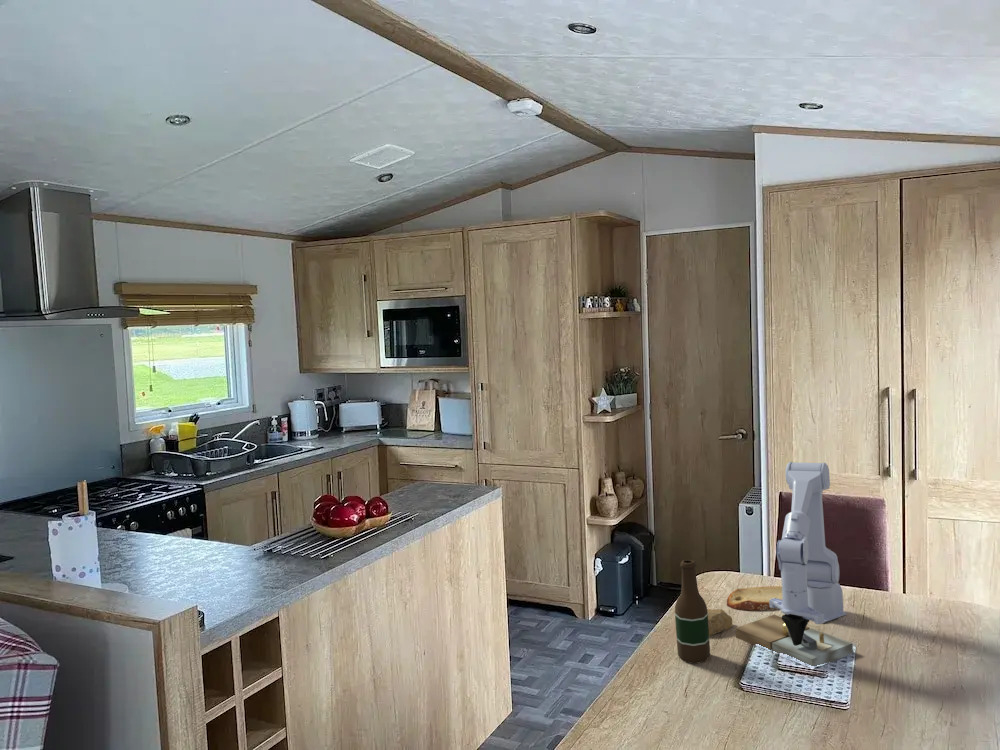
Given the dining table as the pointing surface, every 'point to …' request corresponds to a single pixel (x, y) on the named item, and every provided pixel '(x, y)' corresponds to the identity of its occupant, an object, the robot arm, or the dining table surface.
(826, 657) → the door mockup
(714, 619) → the stone tool
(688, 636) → the beer bottle
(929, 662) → the dining table surface
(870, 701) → the dining table surface
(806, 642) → the bar
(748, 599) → the slice of bread
